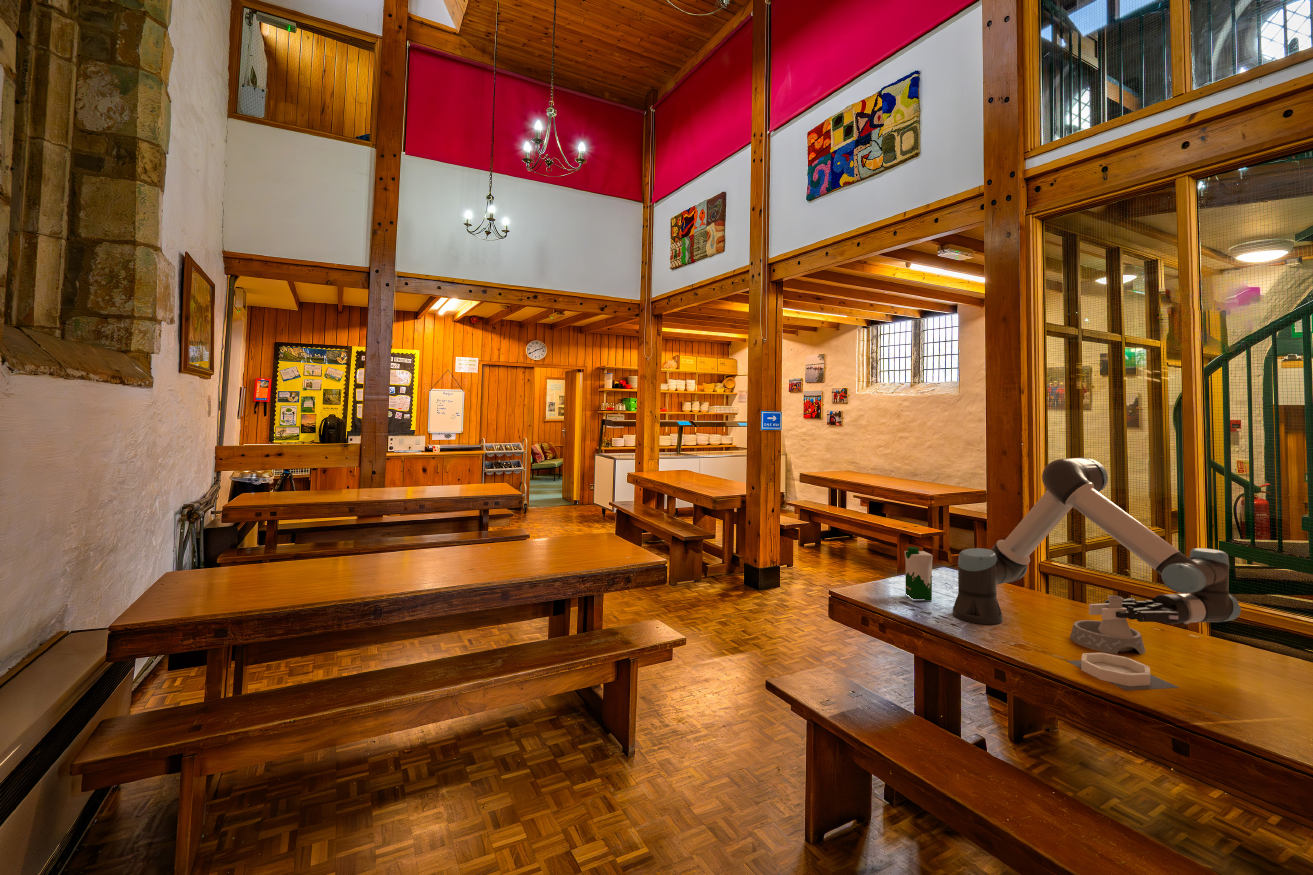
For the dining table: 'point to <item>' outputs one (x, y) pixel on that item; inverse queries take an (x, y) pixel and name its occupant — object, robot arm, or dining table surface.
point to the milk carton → (918, 573)
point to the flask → (1115, 622)
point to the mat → (1154, 684)
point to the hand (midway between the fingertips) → (1096, 611)
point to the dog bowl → (1104, 638)
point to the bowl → (1115, 669)
